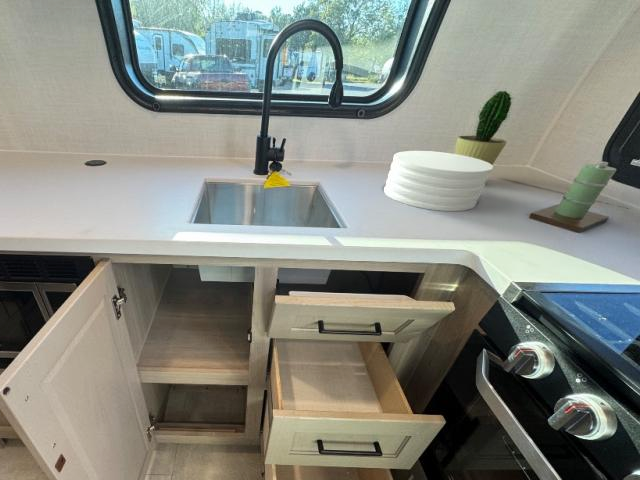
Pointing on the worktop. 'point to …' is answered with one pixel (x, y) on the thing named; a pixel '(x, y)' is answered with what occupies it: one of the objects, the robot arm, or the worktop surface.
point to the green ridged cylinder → (585, 190)
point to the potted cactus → (487, 130)
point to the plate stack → (436, 180)
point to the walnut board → (568, 219)
